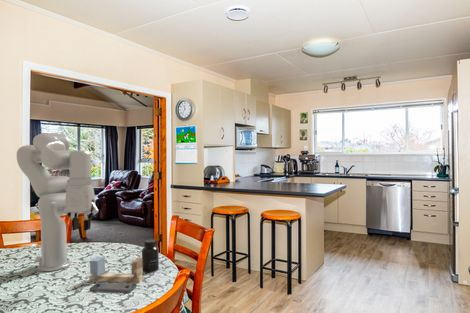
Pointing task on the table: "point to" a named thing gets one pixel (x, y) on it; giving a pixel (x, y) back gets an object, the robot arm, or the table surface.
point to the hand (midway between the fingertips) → (81, 229)
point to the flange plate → (113, 287)
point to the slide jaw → (97, 267)
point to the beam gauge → (131, 278)
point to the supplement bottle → (150, 256)
